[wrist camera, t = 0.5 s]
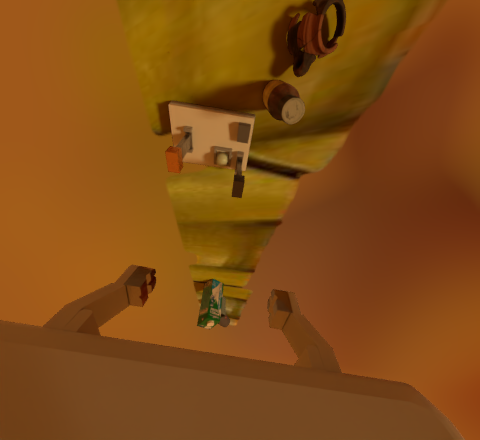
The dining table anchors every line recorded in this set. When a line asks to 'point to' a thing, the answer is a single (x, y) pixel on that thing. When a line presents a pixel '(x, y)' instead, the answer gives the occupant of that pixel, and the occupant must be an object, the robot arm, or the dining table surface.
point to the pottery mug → (313, 35)
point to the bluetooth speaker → (224, 321)
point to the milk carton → (211, 304)
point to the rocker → (243, 132)
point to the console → (210, 133)
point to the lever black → (238, 179)
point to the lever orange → (178, 153)
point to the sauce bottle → (283, 102)
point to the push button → (222, 159)
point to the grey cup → (223, 308)
